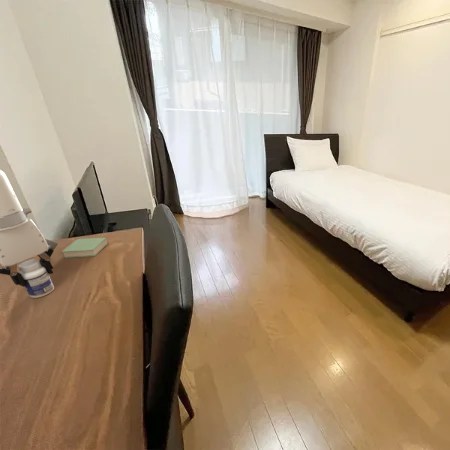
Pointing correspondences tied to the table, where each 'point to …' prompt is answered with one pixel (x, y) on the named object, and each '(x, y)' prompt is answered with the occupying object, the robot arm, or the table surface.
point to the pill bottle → (36, 279)
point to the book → (85, 247)
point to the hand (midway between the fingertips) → (35, 278)
